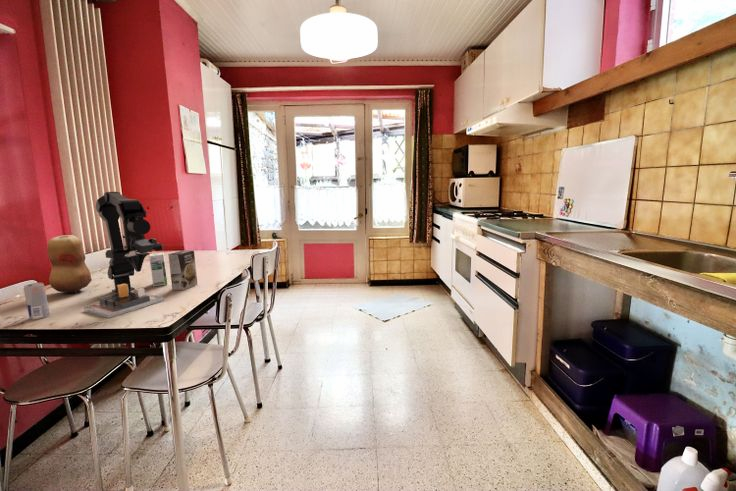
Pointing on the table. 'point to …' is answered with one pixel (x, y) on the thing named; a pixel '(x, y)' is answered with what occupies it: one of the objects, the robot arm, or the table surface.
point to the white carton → (36, 301)
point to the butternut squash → (67, 264)
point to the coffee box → (182, 270)
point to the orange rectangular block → (123, 290)
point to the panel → (111, 314)
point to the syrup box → (158, 269)
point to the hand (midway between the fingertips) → (138, 271)
